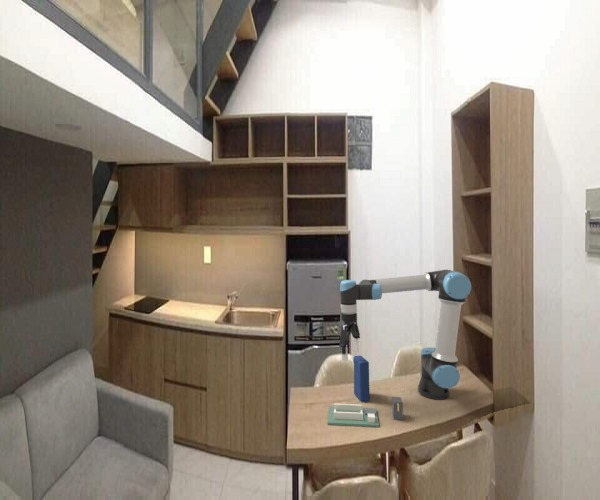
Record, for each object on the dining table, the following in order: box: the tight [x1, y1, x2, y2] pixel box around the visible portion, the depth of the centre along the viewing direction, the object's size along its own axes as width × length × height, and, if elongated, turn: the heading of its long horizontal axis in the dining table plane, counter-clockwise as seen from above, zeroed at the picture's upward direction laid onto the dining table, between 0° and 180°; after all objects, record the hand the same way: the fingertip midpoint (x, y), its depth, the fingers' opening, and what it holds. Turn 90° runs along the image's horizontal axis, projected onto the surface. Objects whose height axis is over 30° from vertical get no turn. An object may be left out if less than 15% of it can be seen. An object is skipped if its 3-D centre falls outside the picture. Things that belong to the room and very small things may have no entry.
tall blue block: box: [352, 355, 371, 403], centre depth 169 cm, size 10×5×20 cm, turn 13°
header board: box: [327, 403, 380, 428], centre depth 151 cm, size 22×14×4 cm, turn 82°
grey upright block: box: [391, 396, 404, 421], centre depth 150 cm, size 4×6×8 cm, turn 172°
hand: (350, 355), depth 161 cm, fingers open, 13 cm apart
